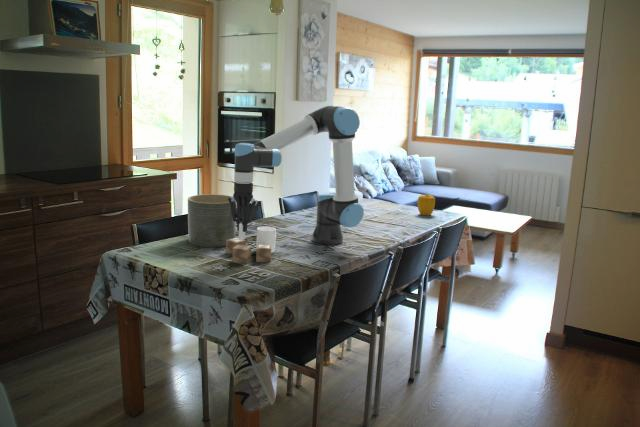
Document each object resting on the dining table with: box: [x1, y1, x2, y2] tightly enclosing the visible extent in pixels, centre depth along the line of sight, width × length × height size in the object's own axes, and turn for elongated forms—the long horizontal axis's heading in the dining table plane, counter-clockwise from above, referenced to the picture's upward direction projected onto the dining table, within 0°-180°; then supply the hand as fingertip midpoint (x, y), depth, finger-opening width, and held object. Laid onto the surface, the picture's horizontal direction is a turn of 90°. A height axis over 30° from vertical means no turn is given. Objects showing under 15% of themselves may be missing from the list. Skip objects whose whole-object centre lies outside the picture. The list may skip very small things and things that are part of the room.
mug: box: [255, 225, 277, 254], centre depth 243 cm, size 12×8×10 cm
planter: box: [187, 193, 237, 248], centre depth 252 cm, size 22×22×20 cm
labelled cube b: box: [255, 244, 272, 263], centre depth 229 cm, size 6×6×6 cm
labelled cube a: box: [225, 237, 247, 256], centre depth 237 cm, size 6×6×6 cm
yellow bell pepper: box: [417, 194, 436, 217], centre depth 338 cm, size 11×11×13 cm
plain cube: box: [232, 245, 253, 265], centre depth 226 cm, size 6×6×6 cm
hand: (241, 238), depth 225 cm, fingers closed
